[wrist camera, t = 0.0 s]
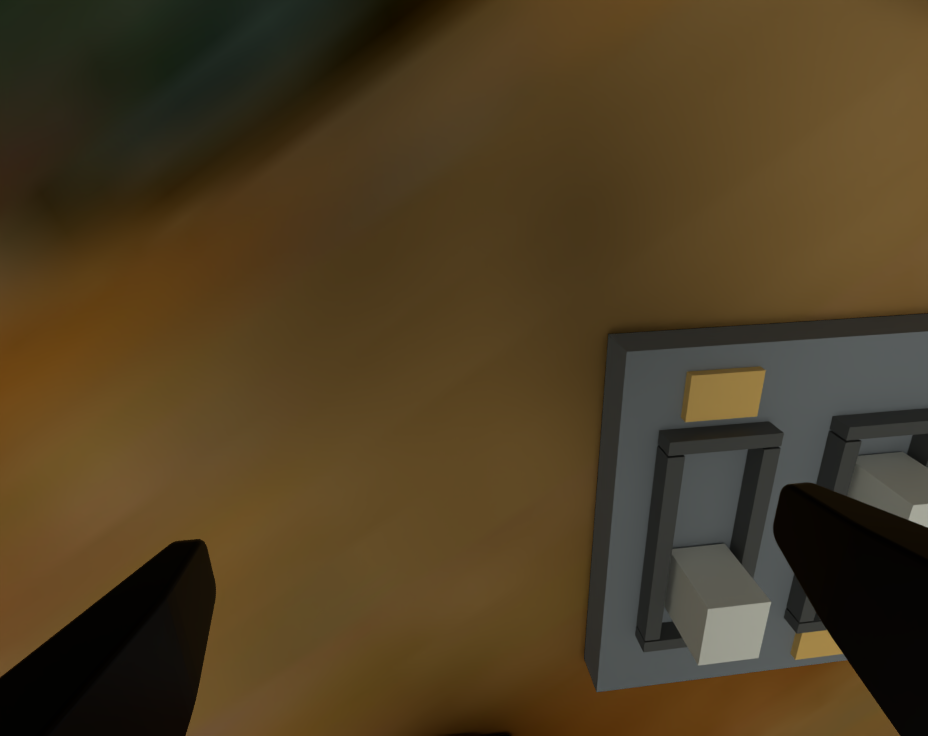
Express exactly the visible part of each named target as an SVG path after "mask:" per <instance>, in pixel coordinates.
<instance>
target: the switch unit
mask: <svg viewBox="0 0 928 736" xmlns="http://www.w3.org/2000/svg"><path fill="white" fill-rule="evenodd" d="M895 452H904V453H905V454H907V455H908V456H910V457H911V458H913V459H915V460H916V461H918V462H919V463H921V464H922V465H924V466H925V467H927V468H928V314H914V315H898V316H883V317H868V318H852V319H837V320H821V321H806V322H790V323H775V324H759V325H744V326H728V327H713V328H697V329H682V330H666V331H651V332H635V333H620V334H608V347H607V361H606V374H605V387H604V401H603V414H602V427H601V441H600V454H599V467H598V481H597V494H596V507H595V521H594V534H593V547H592V561H591V574H590V587H589V601H588V614H587V627H586V641H585V654H584V659H585V662H586V665H587V668H588V670H589V673H590V676H591V678H592V681H593V684H594V687H595V689H596V692H602V691H609V690H617V689H625V688H633V687H641V686H648V685H656V684H664V683H672V682H680V681H687V680H695V679H703V678H711V677H719V676H726V675H734V674H742V673H750V672H758V671H765V670H773V669H781V668H789V667H797V666H804V665H812V664H820V663H828V662H835V661H843V660H847V659H846V657H845V656H844V654H843V653H842V651H841V650H840V649H839V647H838V646H837V644H836V643H835V641H834V640H833V638H832V637H831V635H830V634H829V632H828V631H827V629H826V628H825V626H824V625H823V623H822V621H821V620H820V618H819V617H818V615H817V613H816V612H815V610H814V608H813V606H812V605H811V603H810V601H809V599H808V597H807V596H806V594H805V592H804V590H803V589H802V587H801V585H800V583H799V582H798V580H797V578H796V576H795V575H794V573H793V571H792V569H791V567H790V566H789V564H788V562H787V560H786V559H785V557H784V555H783V553H782V552H781V550H780V548H779V546H778V545H777V543H776V540H775V538H774V534H773V522H774V518H775V513H776V509H777V504H778V500H779V495H780V491H781V489H782V488H783V487H784V486H785V485H787V484H793V483H803V482H810V483H814V484H817V485H819V486H822V487H825V488H827V489H830V490H832V491H835V492H837V493H840V494H843V495H845V496H847V495H848V491H849V487H850V483H851V480H852V476H853V472H854V469H855V465H856V461H857V457H858V456H862V455H873V454H884V453H895ZM716 544H725V545H726V546H727V547H728V548H729V550H730V551H731V552H732V553H733V555H734V556H735V557H736V558H737V560H738V561H739V562H740V563H741V565H742V566H743V567H744V568H745V570H746V571H747V572H748V573H749V575H750V576H751V577H752V578H753V580H754V581H755V582H756V583H757V585H758V586H759V587H760V588H761V590H762V591H763V592H764V593H765V595H766V596H767V597H768V598H769V600H770V601H771V605H770V610H769V614H768V618H767V623H766V627H765V631H764V636H763V640H762V645H761V649H760V653H759V658H755V659H747V660H739V661H731V662H723V663H715V664H707V665H699V666H698V664H697V663H696V661H695V659H694V657H693V656H692V654H691V652H690V650H689V649H688V647H687V645H686V643H685V642H684V640H683V638H682V636H681V635H680V633H679V631H678V629H677V628H676V626H675V624H674V622H673V621H672V619H671V617H670V615H669V614H668V612H667V610H666V609H665V607H664V605H665V598H666V591H667V583H668V576H669V569H670V562H671V555H672V549H678V548H687V547H697V546H707V545H716Z"/></svg>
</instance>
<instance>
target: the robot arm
mask: <svg viewBox="0 0 928 736" xmlns="http://www.w3.org/2000/svg"><path fill="white" fill-rule="evenodd" d="M773 534H774V538H775V540H776V543H777V545H778V546H779V548H780V550H781V552H782V553H783V555H784V557H785V559H786V560H787V562H788V564H789V566H790V567H791V569H792V571H793V573H794V575H795V576H796V578H797V580H798V582H799V583H800V585H801V587H802V589H803V590H804V592H805V594H806V596H807V597H808V599H809V601H810V603H811V605H812V606H813V608H814V610H815V612H816V613H817V615H818V617H819V618H820V620H821V621H822V623H823V625H824V626H825V628H826V629H827V631H828V632H829V634H830V635H831V637H832V638H833V640H834V641H835V643H836V644H837V646H838V647H839V649H840V650H841V651H842V653H843V654H844V656H845V657H846V659H847V660H848V661H849V663H850V664H851V666H852V667H853V669H854V670H855V671H856V673H857V674H858V676H859V677H860V679H861V680H862V681H863V683H864V684H865V686H866V687H867V689H868V690H869V692H870V693H871V694H872V696H873V697H874V699H875V700H876V702H877V703H878V704H879V706H880V707H881V709H882V710H883V712H884V713H885V714H886V716H887V717H888V719H889V720H890V722H891V723H892V724H893V726H894V727H895V729H896V730H897V732H898V733H899V734H900V736H928V527H925V526H923V525H920V524H917V523H915V522H912V521H910V520H907V519H905V518H902V517H899V516H897V515H894V514H892V513H889V512H886V511H884V510H881V509H879V508H876V507H874V506H871V505H868V504H866V503H863V502H861V501H858V500H856V499H853V498H850V497H848V496H845V495H843V494H840V493H837V492H835V491H832V490H830V489H827V488H825V487H822V486H819V485H817V484H814V483H810V482H803V483H793V484H787V485H785V486H784V487H783V488H782V489H781V491H780V495H779V500H778V504H777V509H776V513H775V518H774V522H773ZM215 598H216V584H215V579H214V575H213V571H212V566H211V562H210V558H209V554H208V549H207V546H206V544H205V542H204V541H202V540H201V539H194V540H183V541H175V542H173V543H171V544H170V545H168V546H167V547H166V548H164V549H163V550H162V551H161V552H159V553H158V554H157V555H156V556H154V557H153V558H152V559H150V560H149V561H148V562H147V563H145V564H144V565H143V566H142V567H140V568H139V569H138V570H136V571H135V572H134V573H133V574H131V575H130V576H129V577H128V578H126V579H125V580H124V581H122V582H121V583H120V584H119V585H117V586H116V587H115V588H114V589H112V590H111V591H110V592H108V593H107V594H106V595H105V596H103V597H102V598H101V599H100V600H98V601H97V602H96V603H94V604H93V605H92V606H91V607H89V608H88V609H87V610H86V611H84V612H83V613H82V614H80V615H79V616H78V617H77V618H75V619H74V620H73V621H71V622H70V623H69V624H68V625H66V626H65V627H64V628H63V629H61V630H60V631H59V632H57V633H56V634H55V635H54V636H52V637H51V638H50V639H49V640H47V641H46V642H45V643H43V644H42V645H41V646H40V647H38V648H37V649H36V650H35V651H33V652H32V653H31V654H29V655H28V656H27V657H26V658H24V659H23V660H22V661H21V662H19V663H18V664H17V665H15V666H14V667H13V668H12V669H10V670H9V671H8V672H7V673H5V674H4V675H3V676H1V677H0V736H185V735H186V732H187V729H188V726H189V722H190V719H191V715H192V712H193V708H194V705H195V701H196V697H197V692H198V687H199V682H200V677H201V672H202V667H203V661H204V656H205V651H206V646H207V641H208V635H209V630H210V625H211V620H212V614H213V609H214V604H215ZM500 736H510V735H500Z"/></svg>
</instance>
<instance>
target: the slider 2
mask: <svg viewBox="0 0 928 736" xmlns="http://www.w3.org/2000/svg"><path fill="white" fill-rule="evenodd" d="M847 496H848V497H850V498H853V499H856V500H858V501H861V502H863V503H866V504H868V505H871V506H874V507H876V508H879V509H881V510H884V511H886V512H889V513H892V514H894V515H897V516H899V517H902V518H905V519H907V520H910V521H912V522H915V523H917V524H920V525H923V526H925V527H928V468H927V467H925V466H924V465H922V464H921V463H919V462H918V461H916V460H915V459H913V458H911V457H910V456H908V455H907V454H905V453H904V452H895V453H884V454H873V455H862V456H858V457H857V461H856V465H855V469H854V472H853V476H852V480H851V483H850V487H849V491H848V495H847Z"/></svg>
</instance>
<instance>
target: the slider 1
mask: <svg viewBox="0 0 928 736" xmlns="http://www.w3.org/2000/svg"><path fill="white" fill-rule="evenodd" d="M770 605H771V601H770V600H769V598H768V597H767V596H766V595H765V593H764V592H763V591H762V590H761V588H760V587H759V586H758V585H757V583H756V582H755V581H754V580H753V578H752V577H751V576H750V575H749V573H748V572H747V571H746V570H745V568H744V567H743V566H742V565H741V563H740V562H739V561H738V560H737V558H736V557H735V556H734V555H733V553H732V552H731V551H730V550H729V548H728V547H727V546H726V545H725V544H716V545H707V546H697V547H687V548H678V549H672V555H671V562H670V569H669V576H668V583H667V591H666V598H665V605H664V607H665V609H666V610H667V612H668V614H669V615H670V617H671V619H672V621H673V622H674V624H675V626H676V628H677V629H678V631H679V633H680V635H681V636H682V638H683V640H684V642H685V643H686V645H687V647H688V649H689V650H690V652H691V654H692V656H693V657H694V659H695V661H696V663H697V664H698V666H699V665H707V664H715V663H723V662H731V661H739V660H747V659H755V658H759V653H760V649H761V645H762V640H763V636H764V631H765V627H766V623H767V618H768V614H769V610H770Z"/></svg>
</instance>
